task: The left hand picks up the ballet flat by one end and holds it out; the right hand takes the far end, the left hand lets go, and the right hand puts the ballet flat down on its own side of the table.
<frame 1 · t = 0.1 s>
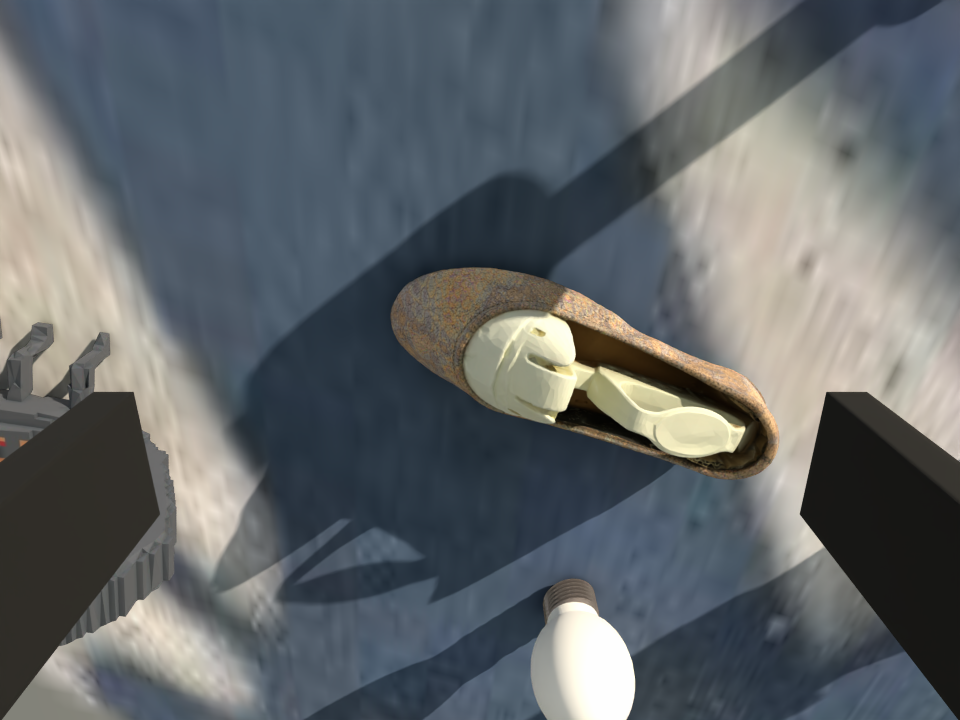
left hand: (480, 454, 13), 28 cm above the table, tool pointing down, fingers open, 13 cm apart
ballet flat: (581, 351, 42), on the table
light bulb: (568, 598, 49), on the table
toy: (37, 406, 43), on the table
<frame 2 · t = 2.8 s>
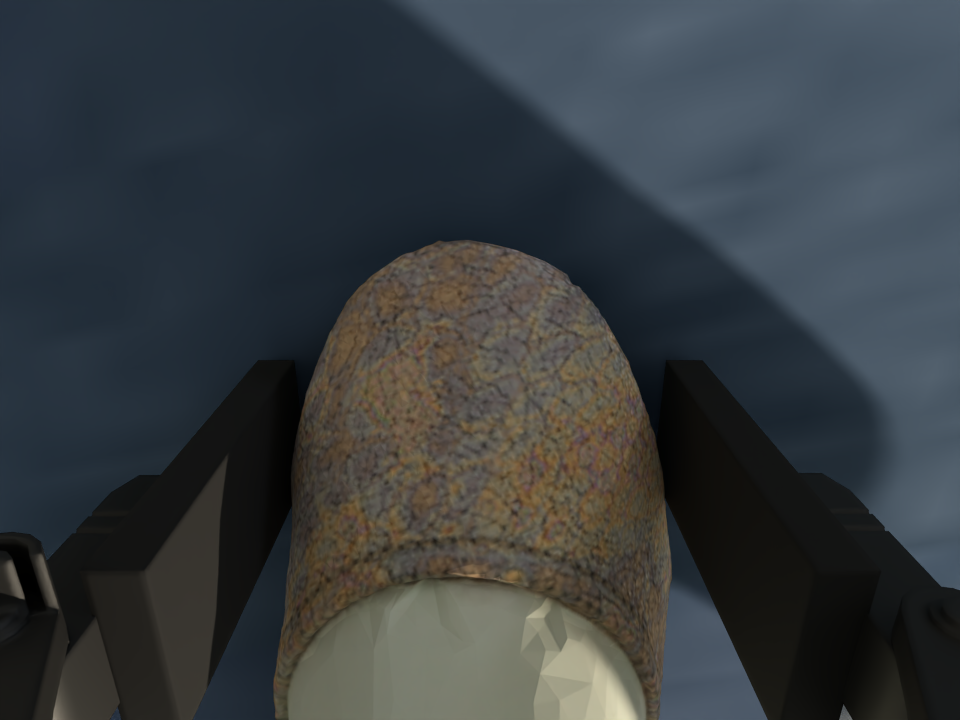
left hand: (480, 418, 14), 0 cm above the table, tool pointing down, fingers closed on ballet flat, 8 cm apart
ballet flat: (477, 685, 17), on the table, touching left hand
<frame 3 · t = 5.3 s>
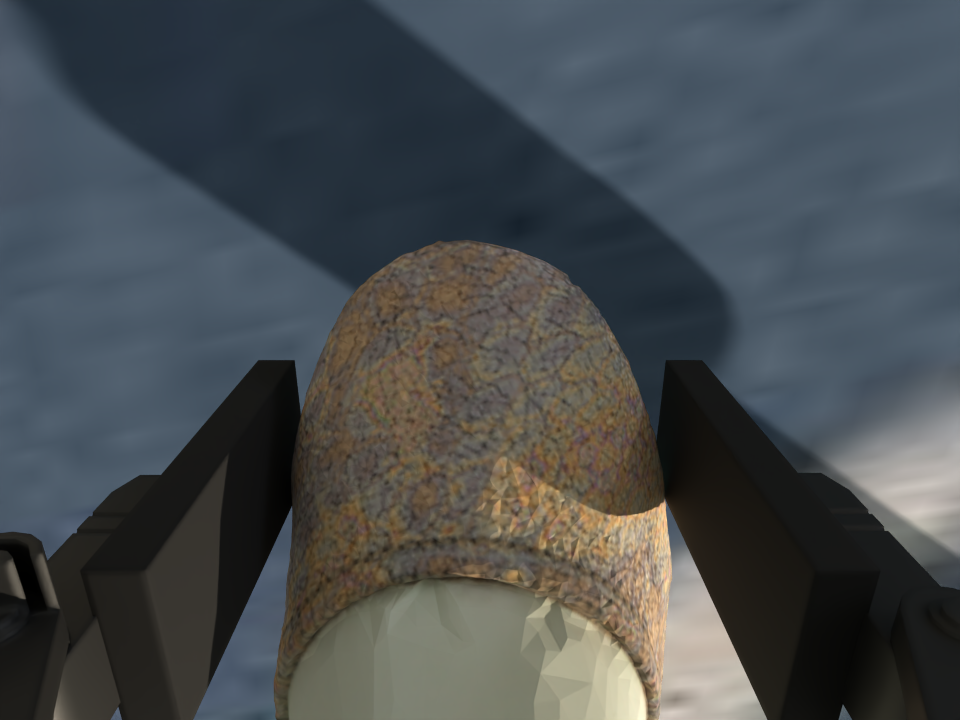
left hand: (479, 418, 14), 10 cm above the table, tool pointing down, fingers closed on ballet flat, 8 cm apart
ballet flat: (477, 685, 17), point 9 cm above the table, touching left hand
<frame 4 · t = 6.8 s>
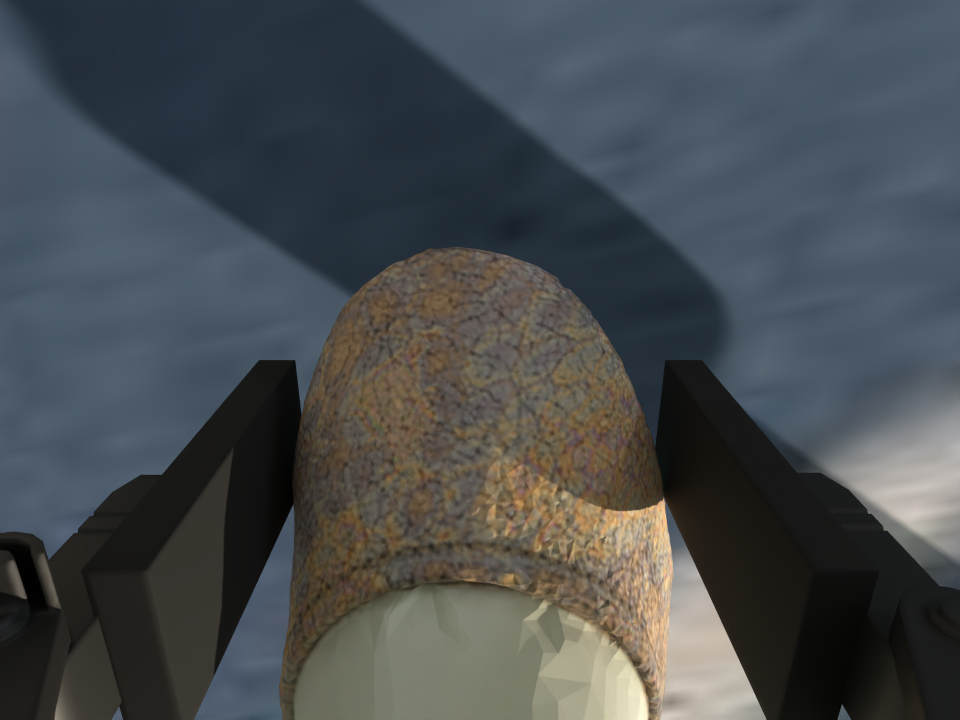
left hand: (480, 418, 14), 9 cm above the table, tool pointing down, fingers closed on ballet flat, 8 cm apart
ballet flat: (486, 684, 18), point 9 cm above the table, touching left hand, right hand
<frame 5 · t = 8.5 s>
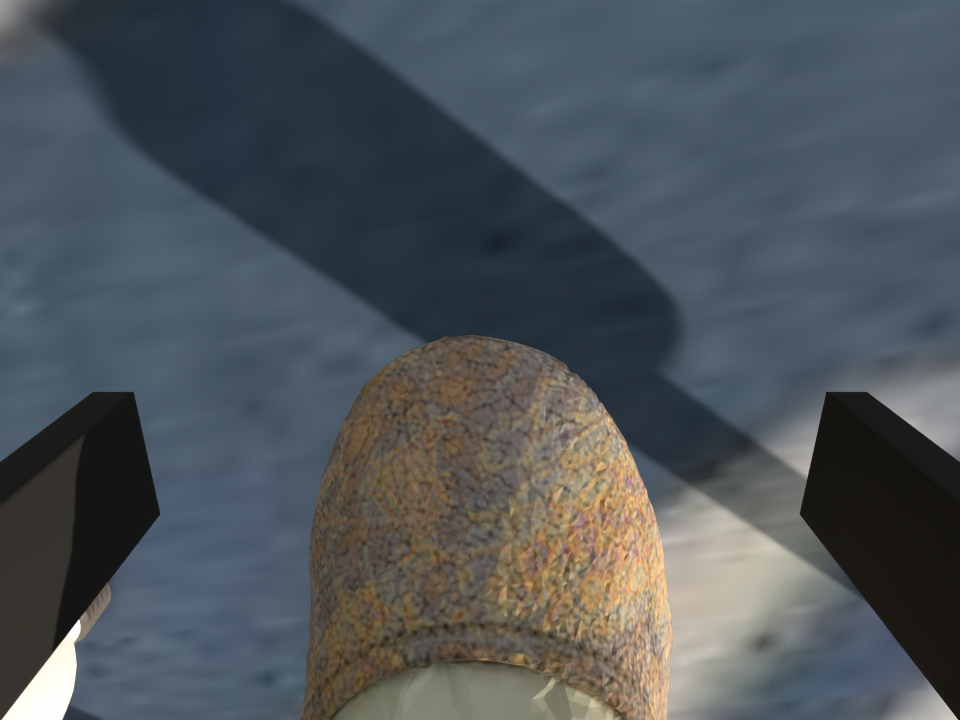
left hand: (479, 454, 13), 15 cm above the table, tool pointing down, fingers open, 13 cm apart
light bulb: (68, 583, 32), on the table
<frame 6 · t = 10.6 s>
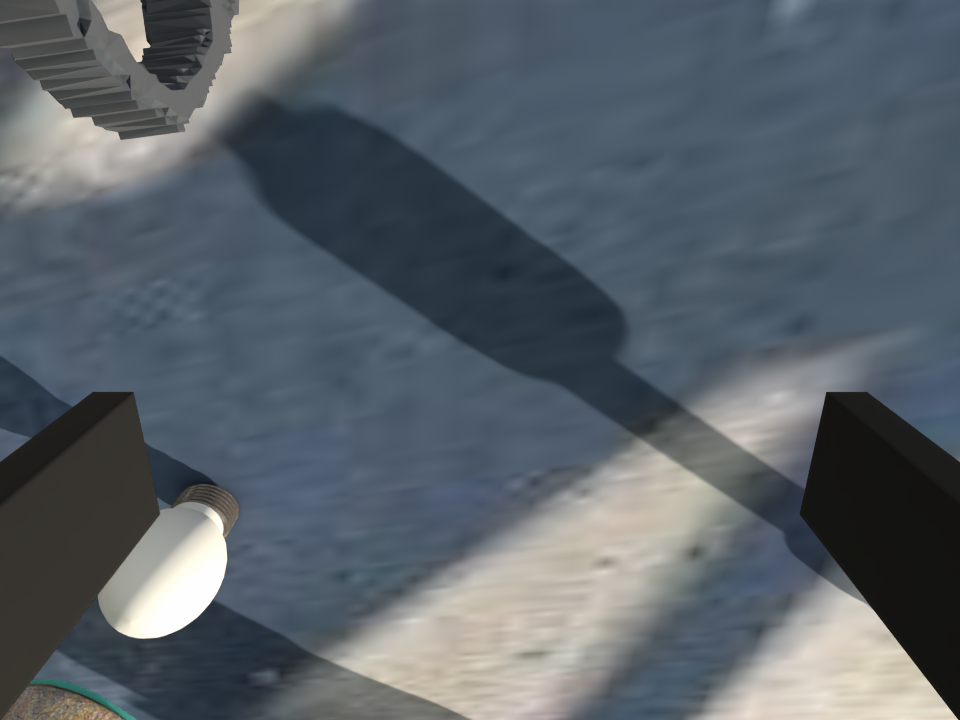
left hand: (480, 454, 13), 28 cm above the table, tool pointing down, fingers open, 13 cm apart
light bulb: (209, 504, 46), on the table
when the right hand's fingers open (4 cm above the table, at t = 14.8 s): ballet flat stays where it is, on the table.
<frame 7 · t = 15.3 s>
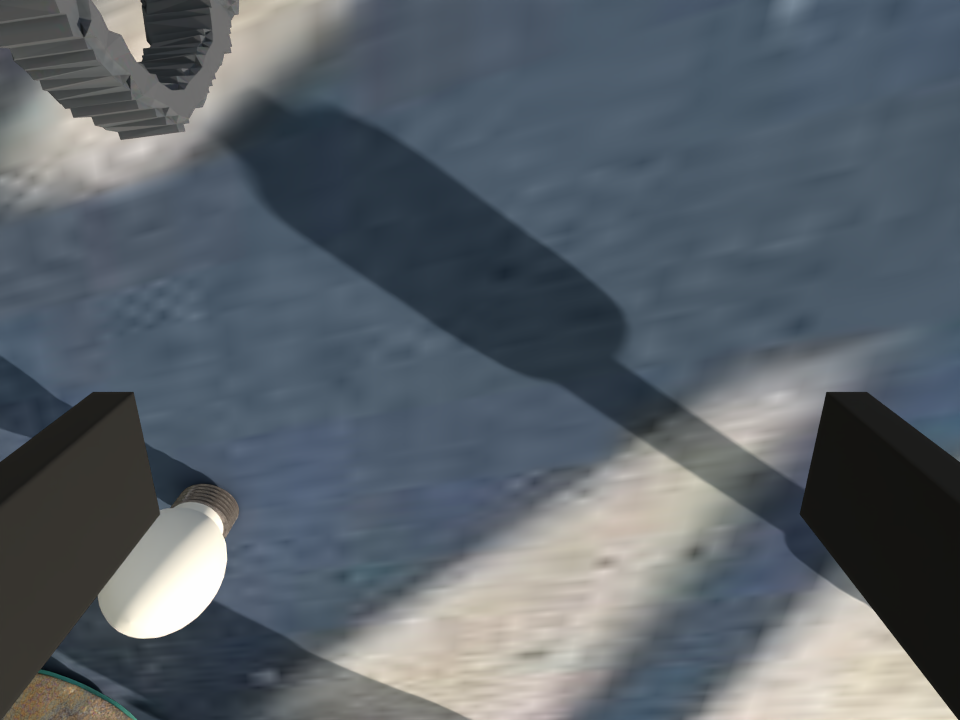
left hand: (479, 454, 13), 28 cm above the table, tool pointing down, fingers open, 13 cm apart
light bulb: (209, 504, 46), on the table
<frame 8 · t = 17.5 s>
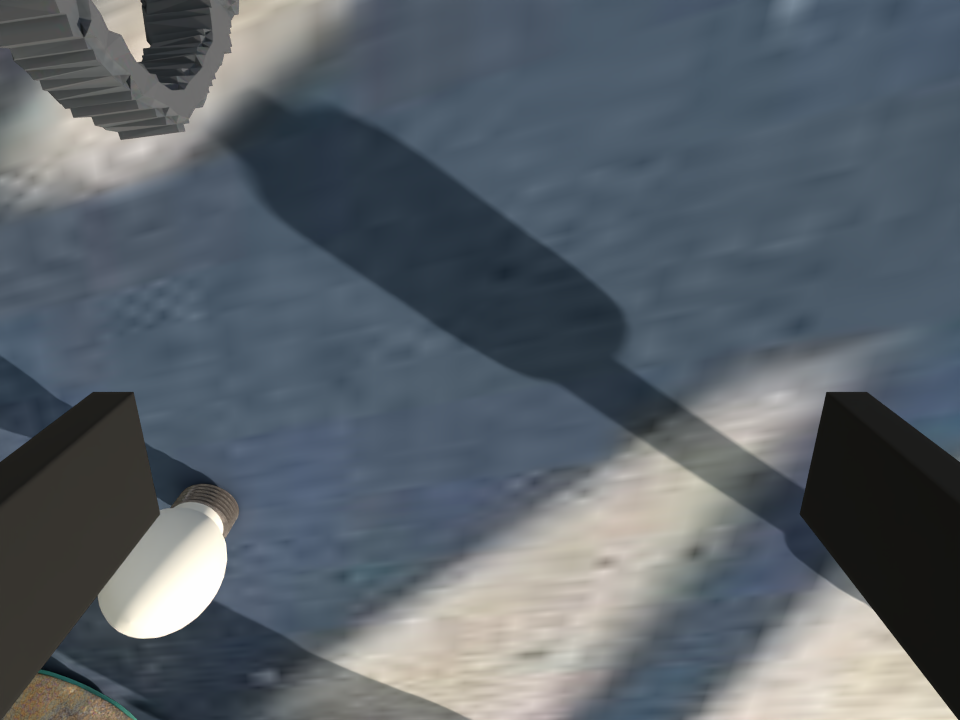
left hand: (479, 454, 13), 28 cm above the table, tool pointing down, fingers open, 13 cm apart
light bulb: (209, 504, 46), on the table
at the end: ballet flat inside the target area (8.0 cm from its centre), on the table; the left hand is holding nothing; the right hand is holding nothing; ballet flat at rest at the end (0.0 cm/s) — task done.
